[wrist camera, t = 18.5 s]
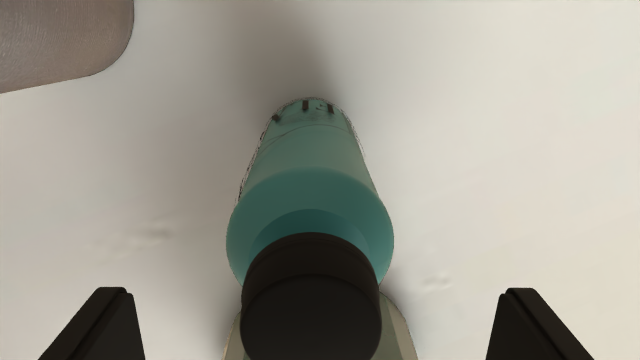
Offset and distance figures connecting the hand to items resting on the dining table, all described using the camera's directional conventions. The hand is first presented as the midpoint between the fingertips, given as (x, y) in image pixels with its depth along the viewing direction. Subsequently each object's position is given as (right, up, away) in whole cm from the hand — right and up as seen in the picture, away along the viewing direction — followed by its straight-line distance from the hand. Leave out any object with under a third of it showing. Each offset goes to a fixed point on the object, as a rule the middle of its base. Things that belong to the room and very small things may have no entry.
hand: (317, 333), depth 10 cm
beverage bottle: (-1, +7, +19) cm, 20 cm away
